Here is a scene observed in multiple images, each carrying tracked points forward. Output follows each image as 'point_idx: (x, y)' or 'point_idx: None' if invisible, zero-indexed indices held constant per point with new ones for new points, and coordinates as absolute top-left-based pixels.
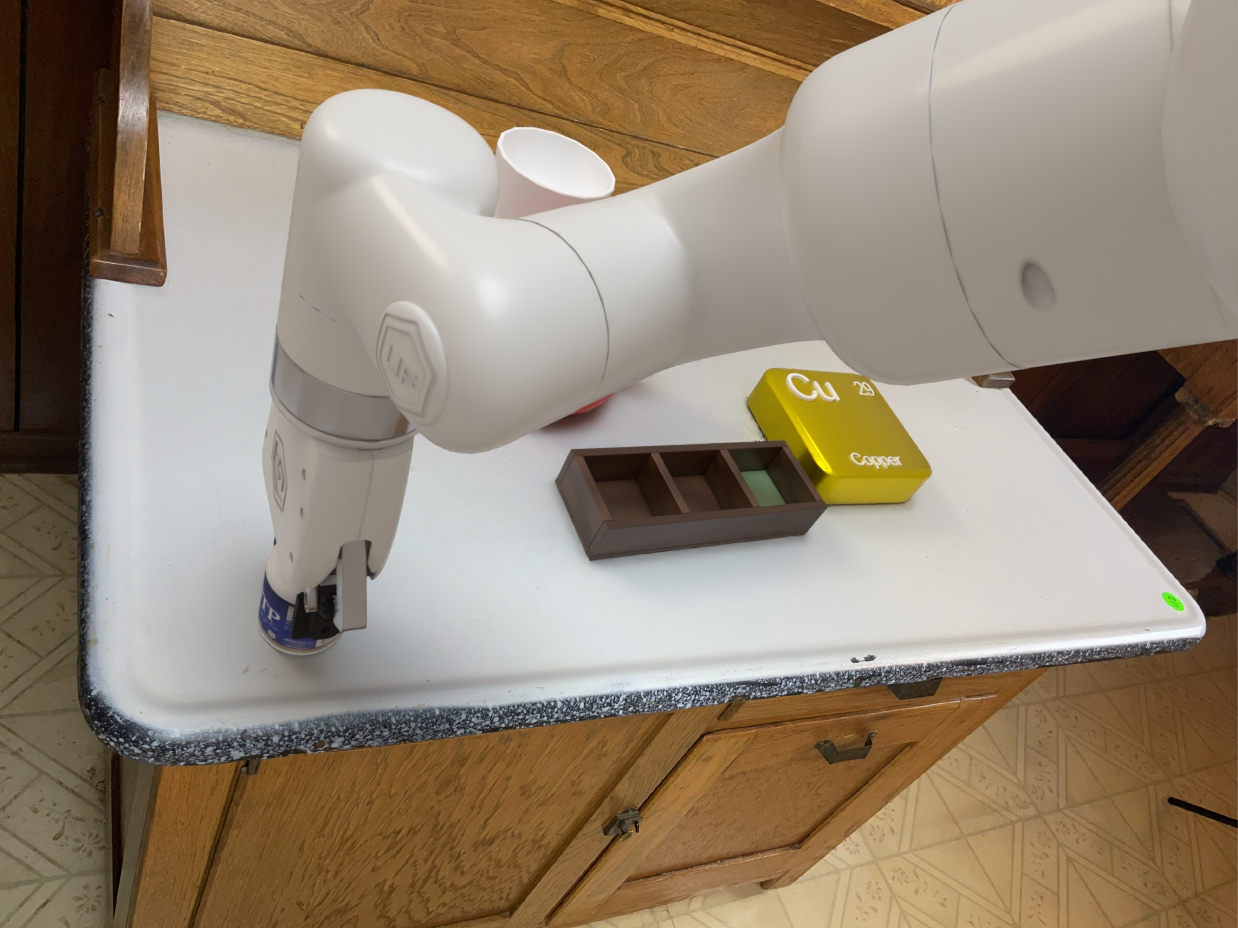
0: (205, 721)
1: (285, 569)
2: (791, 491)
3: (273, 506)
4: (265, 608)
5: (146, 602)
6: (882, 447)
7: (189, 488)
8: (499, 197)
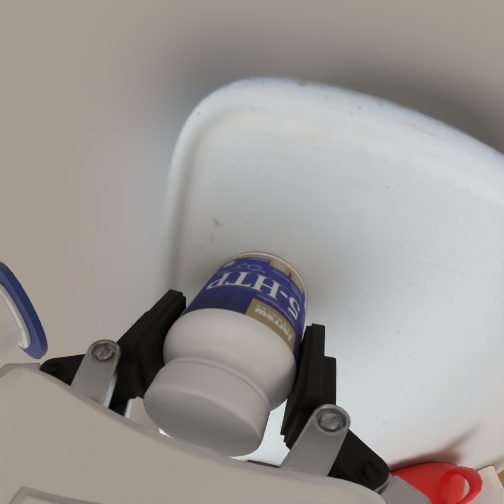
0: (172, 169)
1: (20, 383)
2: None
3: (132, 481)
4: (235, 276)
5: (342, 145)
6: None
7: (473, 245)
8: (495, 494)
